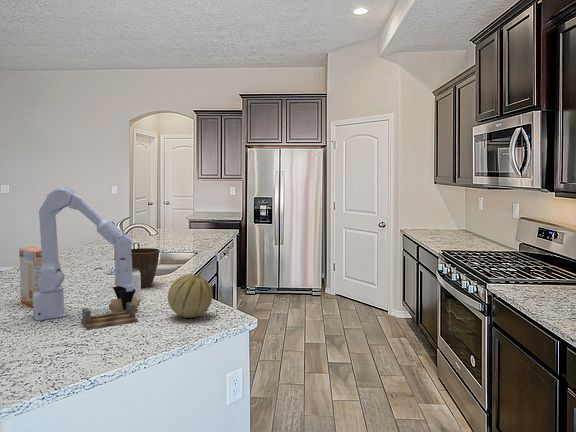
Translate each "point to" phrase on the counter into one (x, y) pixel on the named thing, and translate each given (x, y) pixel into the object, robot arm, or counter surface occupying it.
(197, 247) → the counter surface
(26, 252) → the cracker box
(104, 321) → the cradle
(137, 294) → the can
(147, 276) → the plant pot
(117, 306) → the bottle
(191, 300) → the cantaloupe
